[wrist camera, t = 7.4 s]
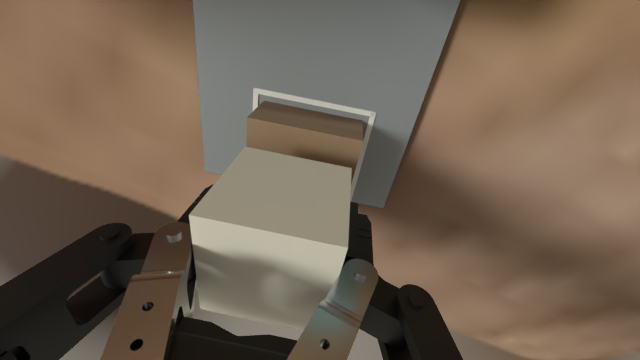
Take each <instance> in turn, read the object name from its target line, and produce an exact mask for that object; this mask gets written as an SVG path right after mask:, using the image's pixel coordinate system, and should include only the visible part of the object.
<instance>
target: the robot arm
mask: <svg viewBox="0 0 640 360" xmlns="http://www.w3.org/2000/svg"><path fill="white" fill-rule="evenodd" d="M213 185H214V184H213ZM213 185H211V186H209V187H207V188H206V189H204V191H203V192H202V193H201V194H200V195H199V197H198V198H197V199H196V200H195V202H193V204H192V205H191V206H190V207H189V208H188V209H187V211H186V212H185V213H184V214H183V215H182V216H181V218H180V219H179V220H178V221H177V222H172V223H168V224H165V225H163V226H161V227H160V228H159V229H158V230H157V231H156V232H155V233H140V234H133V233H132V230H131V228H130V227H129V226H128V225H126V224H123V223H112V224H106V225H103V226H101V227H99V228H97V229H95V230H93V231H92V232H90V233H88V234H87V235H85V236H83V237H82V238H80V239H78V240H77V241H75V242H73V243H72V244H70V245H68V246H67V247H65V248H63V249H62V250H60V251H58V252H57V253H55V254H53V255H52V256H50V257H48V258H47V259H45V260H43V261H42V262H40V263H38V264H37V265H35V266H33V267H32V268H30V269H28V270H27V271H25V272H23V273H22V274H20V275H18V276H17V277H15V278H13V279H12V280H10V281H9V282H7V283H5V284H3V285H2V286H0V360H59V359H60V358H61V357H62V356H64V355H65V354H66V353H67V352H68V351H69V350H70V349H71V348H73V347H74V346H75V345H76V344H77V343H78V342H79V341H80V340H82V339H83V338H84V337H85V336H86V335H87V334H88V333H89V332H91V331H92V330H93V329H94V328H95V327H96V326H97V325H99V324H100V323H101V322H102V321H103V320H104V319H105V318H106V317H107V316H108V315H110V314H111V313H112V312H113V311H114V310H115V309H116V308H118V307H119V306H120V305H121V306H120V309H119V312H118V314H117V317H116V320H115V323H114V325H113V328H112V330H111V333H110V336H109V339H108V341H107V344H106V346H105V349H104V352H103V354H102V357H101V359H100V360H347V358H348V355H349V353H350V350H351V348H352V345H353V343H354V340H355V338H356V335H357V333H358V330H359V328H360V329H361V330H363V331H365V332H367V333H368V334H370V335H372V336H373V337H375V338H377V339H378V342H379V346H380V349H381V353H382V357H383V360H463V359H462V356H461V355H460V352H459V350H458V348H457V346H456V344H455V343H454V340H453V338H452V336H451V334H450V332H449V330H448V328H447V326H446V324H445V322H444V320H443V318H442V316H441V314H440V312H439V310H438V308H437V306H436V304H435V302H434V300H433V298H432V297H431V296H430V294H429V293H428V292H426V291H425V290H424V289H422V288H421V287H419V286H416V285H411V284H408V285H404V286H402V287H401V288H400V289H399V288H397V287H395V286H393V285H391V284H389V283H388V282H386V281H384V280H383V279H382V278H381V277H380V276H379V275H378V272H377V270H376V268H375V267H374V265H373V249H372V233H371V222H370V221H369V219H368V217H367V215H363V214H358V203H355V202H350V217H349V239H348V250H347V253H346V256H345V259H344V263H343V266H342V269H341V272H340V274H339V276H338V277H337V279H336V281H335V283H334V284H333V286H332V288H331V290H330V291H329V293H328V295H327V297H326V298H325V300H322V301H321V302H320V304H319V305H318V307H317V309H316V310H315V312H314V314H313V315H312V317H311V319H310V321H309V322H308V324H307V326H306V327H305V329H304V331H303V333H302V334H301V336H300V338H299V339H298V341H297V340H292V339H287V338H283V337H277V336H273V335H254V336H236V335H234V334H232V333H230V332H228V331H226V330H225V329H223V328H221V327H219V326H217V325H215V324H214V323H212V322H207V321H203V320H198V319H193V310H194V303H195V296H196V289H197V278H196V270H195V262H194V254H193V245H192V237H191V229H190V221H189V214H190V213H191V212H192V210H193V209H194V208H195V207H196V206H197V204H198V203H199V202H200V201H201V199H202V198H203V197H204V196H205V195H206V193H207V192H208V191H209V190H210V189H211V187H212V186H213ZM98 273H99V274H100V276H99V277H98V278H97V279H95V280H94V281H93V282H91V283H90V284H89V285H87V286H86V287H84V288H83V289H82V290H80V291H79V292H78V293H76V294H75V295H74V296H72V297H71V298H70V299H68V297H69V296H70V295H71V294H72V293H73V292H74V291H75V290H76V289H77V288H79V287H80V286H82V285H83V284H84V283H86V282H87V281H89V280H90V279H91V278H93V277H94V276H95V275H97V274H98ZM67 299H68V300H67Z"/></svg>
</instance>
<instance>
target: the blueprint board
mask: <svg viewBox="0 0 640 360" xmlns="http://www.w3.org/2000/svg"><path fill="white" fill-rule="evenodd" d="M459 3H460V0H193V13H194V27H195V40H196V54H197V68H198V82H199V96H200V110H201V124H202V138H203V151H204V165H205V172H209V173H213V174H218V175H222V174H223V173H224V172H225V170H226V169H227V168H228V167H229V165H230V164H231V163H232V162H233V161H234V159H235V158H236V157H237V156H238V155H239V153H240V152H241V151H242V150H243V148H244V147H246V138H247V117H248V116H249V115H250V114H251V113H252V112H253V111H254V110H255V109H256V108H257V107H258V106H259V105H260V104H261V103H262V102H263V101H269V102H274V103H279V104H283V105H288V106H293V107H298V108H303V109H308V110H313V111H318V112H323V113H328V114H333V115H338V116H343V117H348V118H353V119H358V120H363V144H362V147H361V151H360V155H359V158H358V162H357V166H356V169H355V173H354V177H353V180H352V184H351V195H350V202H355V203H359V204H364V205H369V206H374V207H378V208H384V205H385V203H386V200H387V197H388V195H389V192H390V189H391V186H392V184H393V181H394V178H395V176H396V173H397V170H398V168H399V165H400V162H401V159H402V157H403V154H404V151H405V149H406V146H407V143H408V141H409V138H410V135H411V132H412V130H413V127H414V124H415V122H416V119H417V116H418V114H419V111H420V108H421V105H422V103H423V100H424V97H425V95H426V92H427V89H428V87H429V84H430V81H431V79H432V76H433V73H434V70H435V68H436V65H437V62H438V60H439V57H440V54H441V52H442V49H443V46H444V43H445V41H446V38H447V35H448V33H449V30H450V27H451V25H452V22H453V19H454V16H455V14H456V11H457V8H458V6H459Z"/></svg>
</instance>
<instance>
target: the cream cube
mask: <svg viewBox="0 0 640 360" xmlns="http://www.w3.org/2000/svg"><path fill="white" fill-rule="evenodd" d="M351 174H352V168H349V167H344V166H339V165H334V164H329V163H324V162H319V161H314V160H309V159H304V158H299V157H294V156H289V155H284V154H280V153H275V152H270V151H265V150H260V149H255V148H250V147H244V148H243V150H242V151H241V152H240V153H239V155H238V156H237V157H236V158H235V159H234V161H233V162H232V163H231V164H230V165H229V167H228V168H227V169H226V170H225V172H224V173H223V174H222V175H221V176H220V178H219V179H218V180H217V181H216V182H215V184H214V185H213V186H212V187H211V189H210V190H209V191H208V192H207V193H206V195H205V196H204V197H203V198H202V199H201V201H200V202H199V203H198V204H197V206H196V207H195V208H194V209H193V210H192V212H191V213H190V214H189V221H190V229H191V237H192V245H193V254H194V262H195V270H196V278H197V286H198V295H199V303H200V309H204V310H208V311H213V312H217V313H222V314H227V315H232V316H236V317H241V318H246V319H250V320H255V321H260V322H265V323H270V324H274V325H279V326H283V327H288V328H293V329H297V330H302V331H304V329H305V327H306V326H307V324H308V322H309V321H310V319H311V317H312V315H313V314H314V312H315V310H316V309H317V307H318V305H319V304H320V302H321V301H322V300H325V298H326V297H327V295H328V293H329V291H330V290H331V288H332V286H333V284H334V283H335V281H336V279H337V277H338V276H339V274H340V272H341V269H342V266H343V263H344V259H345V256H346V253H347V250H348V239H349V217H350V195H351Z"/></svg>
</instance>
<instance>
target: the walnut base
mask: <svg viewBox="0 0 640 360" xmlns="http://www.w3.org/2000/svg"><path fill="white" fill-rule="evenodd" d="M362 144H363V120H358V119H353V118H348V117H343V116H338V115H333V114H328V113H323V112H318V111H313V110H308V109H303V108H298V107H293V106H288V105H283V104H279V103H274V102H269V101H263V102H262V103H261V104H260V105H259V106H258V107H257V108H256V109H255V110H254V111H253V112H252V113H251V114H250V115H249V116H248V117H247V138H246V147H250V148H255V149H260V150H265V151H270V152H275V153H280V154H284V155H289V156H294V157H299V158H304V159H309V160H314V161H319V162H324V163H329V164H334V165H339V166H344V167H349V168H352V174H351V184H352V180H353V177H354V173H355V169H356V166H357V162H358V158H359V155H360V151H361V147H362Z"/></svg>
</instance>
